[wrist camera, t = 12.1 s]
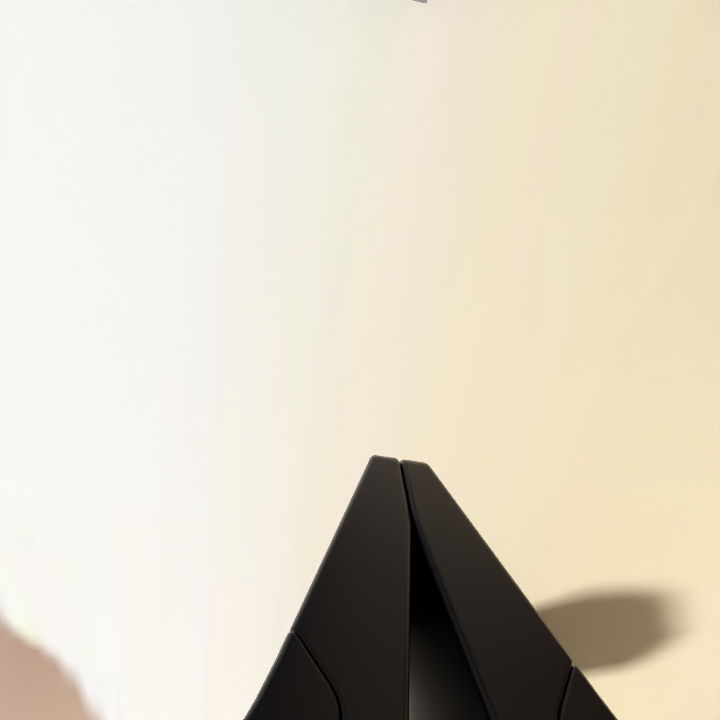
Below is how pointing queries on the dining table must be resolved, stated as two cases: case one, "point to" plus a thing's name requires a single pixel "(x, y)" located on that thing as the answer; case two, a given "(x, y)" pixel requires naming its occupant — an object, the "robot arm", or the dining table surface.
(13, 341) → the dining table surface
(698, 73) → the dining table surface
